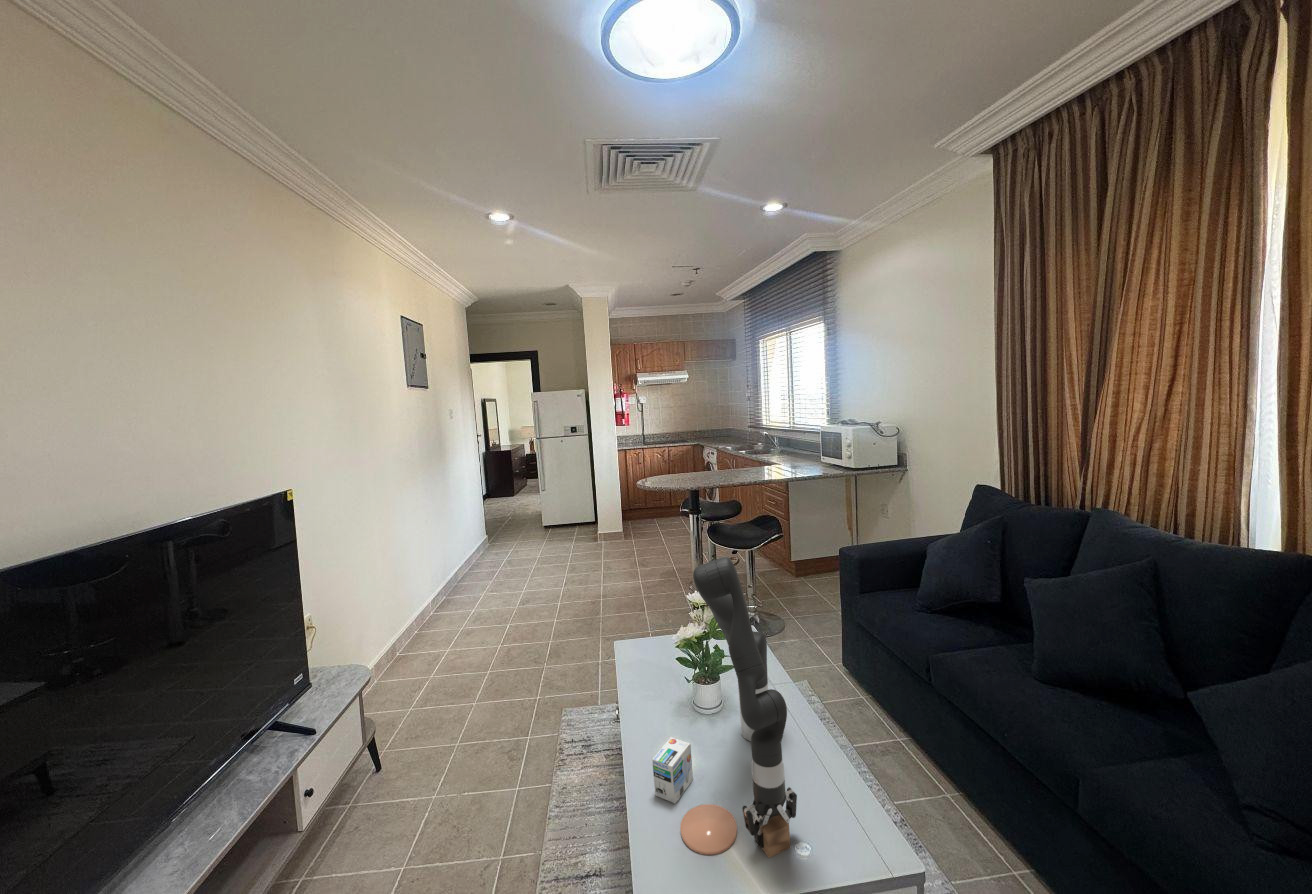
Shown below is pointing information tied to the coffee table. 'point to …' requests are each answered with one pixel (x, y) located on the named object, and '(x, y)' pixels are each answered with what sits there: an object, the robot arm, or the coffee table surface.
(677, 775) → the light bulb box
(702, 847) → the terracotta coaster
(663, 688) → the coffee table surface
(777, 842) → the walnut cube
